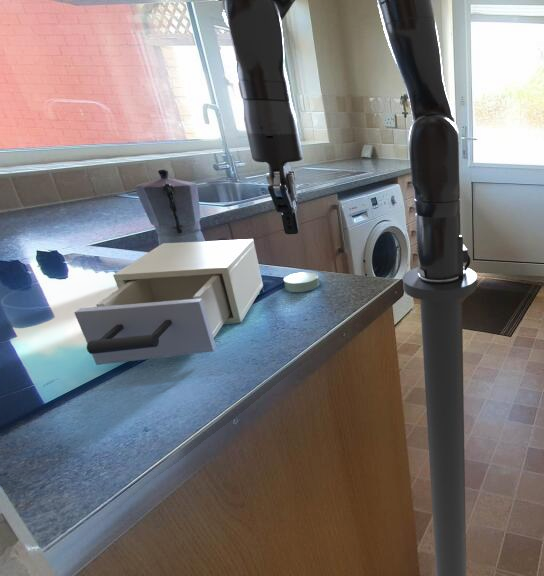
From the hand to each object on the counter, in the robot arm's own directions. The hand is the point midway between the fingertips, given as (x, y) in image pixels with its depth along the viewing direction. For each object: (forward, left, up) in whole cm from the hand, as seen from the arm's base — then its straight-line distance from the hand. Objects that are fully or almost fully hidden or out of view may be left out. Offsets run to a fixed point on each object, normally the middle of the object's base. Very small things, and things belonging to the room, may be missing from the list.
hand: (292, 233), depth 74 cm
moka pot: (+23, -16, -11) cm, 30 cm away
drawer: (+14, +19, -10) cm, 25 cm away
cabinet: (+14, +5, -11) cm, 18 cm away
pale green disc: (0, -1, -11) cm, 11 cm away
